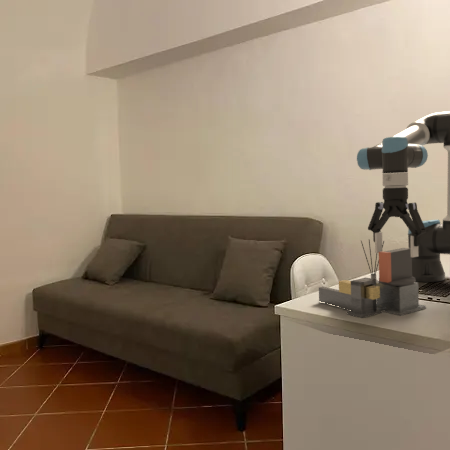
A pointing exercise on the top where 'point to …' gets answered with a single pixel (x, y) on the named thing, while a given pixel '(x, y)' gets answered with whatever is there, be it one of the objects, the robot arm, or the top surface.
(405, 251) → the grey block orange side
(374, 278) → the reed diffuser
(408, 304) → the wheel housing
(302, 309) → the top surface
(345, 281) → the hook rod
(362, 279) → the eye bracket
